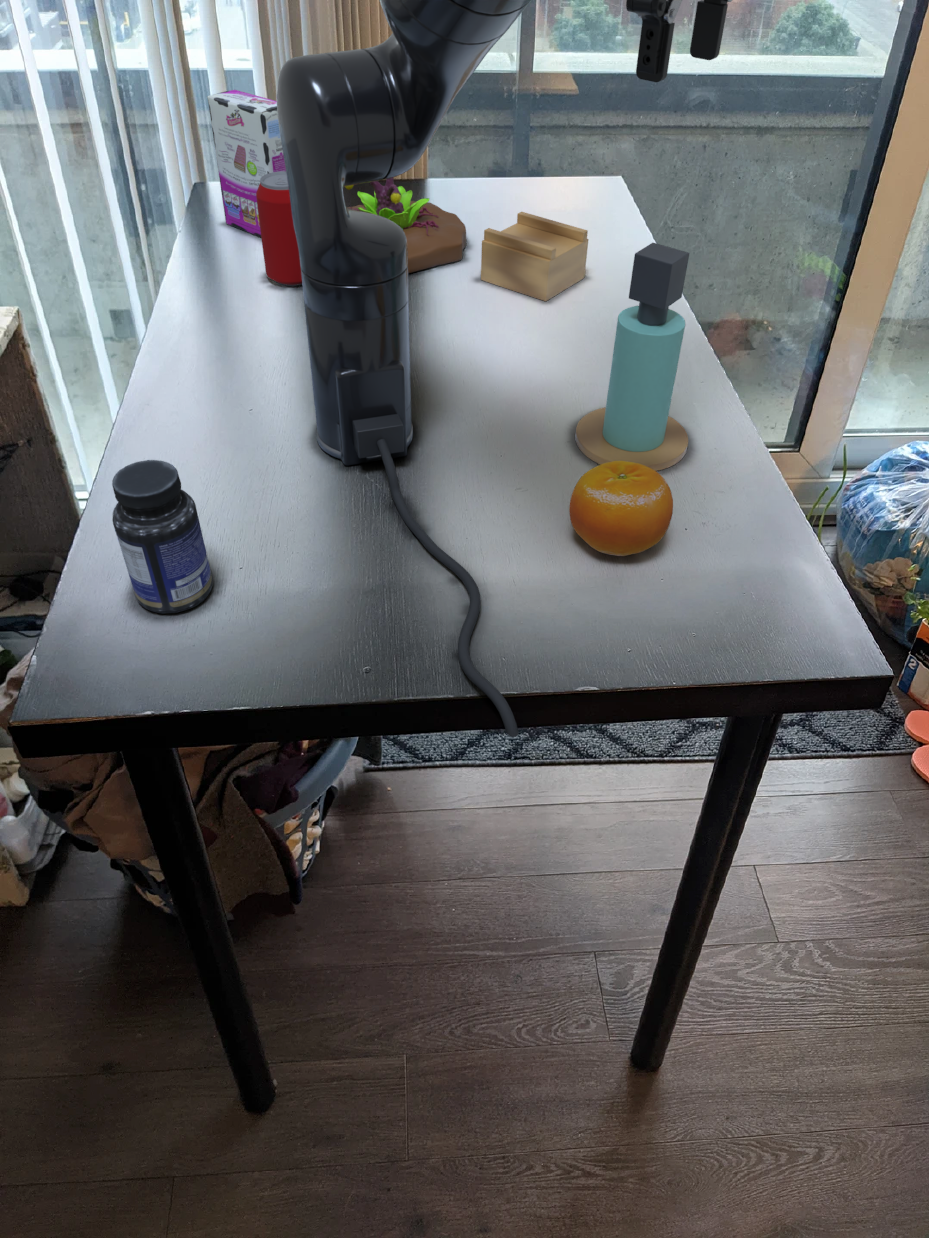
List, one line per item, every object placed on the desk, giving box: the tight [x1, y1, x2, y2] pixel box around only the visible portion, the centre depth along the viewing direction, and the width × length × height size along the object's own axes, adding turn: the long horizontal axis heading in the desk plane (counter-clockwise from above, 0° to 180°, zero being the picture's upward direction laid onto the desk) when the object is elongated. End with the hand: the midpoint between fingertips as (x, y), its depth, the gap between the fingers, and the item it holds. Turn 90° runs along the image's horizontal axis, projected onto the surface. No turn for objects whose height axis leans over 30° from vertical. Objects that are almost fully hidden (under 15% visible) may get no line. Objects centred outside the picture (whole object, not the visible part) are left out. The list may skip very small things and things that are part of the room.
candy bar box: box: [206, 89, 286, 238], centre depth 126 cm, size 11×5×16 cm, turn 49°
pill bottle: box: [111, 459, 214, 614], centre depth 73 cm, size 6×6×11 cm
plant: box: [343, 177, 467, 274], centre depth 125 cm, size 20×20×11 cm
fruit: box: [568, 461, 674, 557], centre depth 80 cm, size 8×8×8 cm
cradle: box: [480, 211, 589, 302], centre depth 119 cm, size 10×9×6 cm
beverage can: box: [256, 171, 302, 287], centre depth 116 cm, size 7×7×12 cm
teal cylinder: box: [603, 242, 690, 452], centre depth 87 cm, size 18×6×6 cm
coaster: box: [574, 406, 689, 472], centre depth 94 cm, size 11×11×1 cm
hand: (678, 68), depth 72 cm, fingers open, 8 cm apart
